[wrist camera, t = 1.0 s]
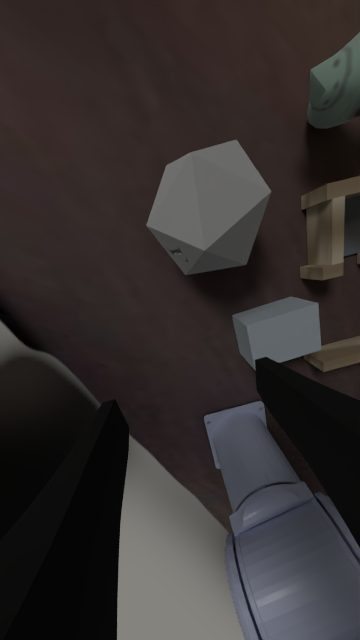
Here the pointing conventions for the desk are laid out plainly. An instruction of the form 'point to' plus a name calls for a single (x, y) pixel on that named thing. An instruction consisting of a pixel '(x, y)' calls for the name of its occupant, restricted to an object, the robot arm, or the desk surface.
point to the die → (209, 208)
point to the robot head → (336, 88)
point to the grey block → (278, 330)
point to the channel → (332, 253)
